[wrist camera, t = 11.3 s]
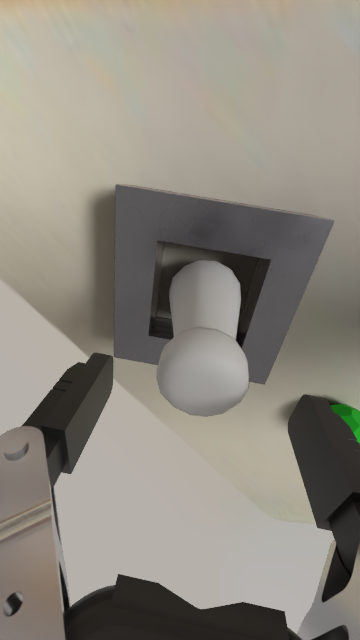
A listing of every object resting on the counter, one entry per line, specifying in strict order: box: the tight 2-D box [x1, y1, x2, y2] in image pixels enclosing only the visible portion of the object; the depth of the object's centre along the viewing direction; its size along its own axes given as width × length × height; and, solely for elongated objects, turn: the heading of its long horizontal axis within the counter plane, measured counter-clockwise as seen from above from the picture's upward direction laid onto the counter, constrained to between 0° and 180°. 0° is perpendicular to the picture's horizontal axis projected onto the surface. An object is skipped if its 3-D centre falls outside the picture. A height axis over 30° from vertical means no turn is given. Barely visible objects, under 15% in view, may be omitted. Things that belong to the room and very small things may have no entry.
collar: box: [114, 184, 334, 384], centre depth 20 cm, size 14×14×4 cm
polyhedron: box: [330, 404, 360, 444], centre depth 25 cm, size 5×5×5 cm
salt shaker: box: [157, 260, 249, 417], centre depth 16 cm, size 6×6×13 cm
